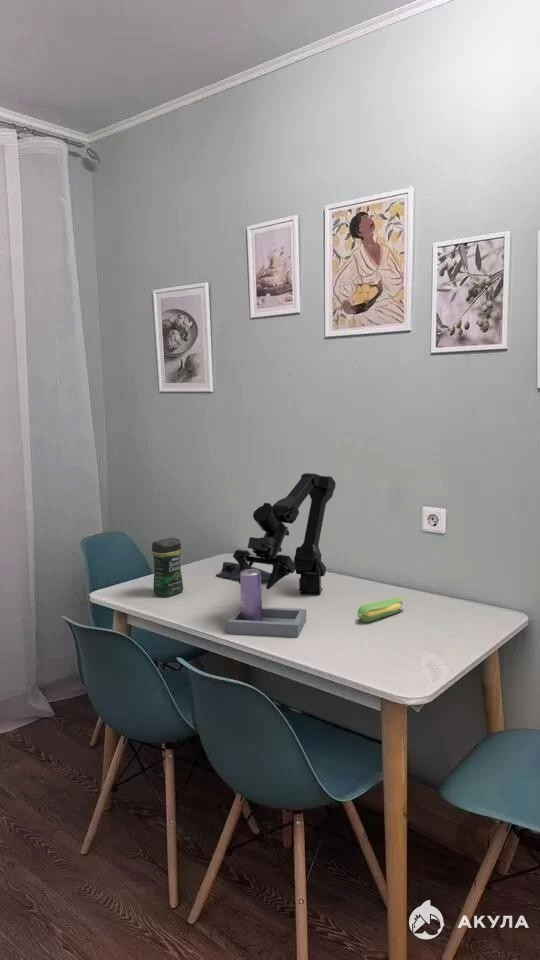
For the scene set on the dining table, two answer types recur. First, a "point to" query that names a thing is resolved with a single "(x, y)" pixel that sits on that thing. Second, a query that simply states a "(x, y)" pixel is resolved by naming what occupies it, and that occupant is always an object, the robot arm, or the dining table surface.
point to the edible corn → (379, 609)
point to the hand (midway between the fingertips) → (253, 586)
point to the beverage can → (251, 595)
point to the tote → (270, 622)
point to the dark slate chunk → (233, 572)
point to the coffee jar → (167, 567)
